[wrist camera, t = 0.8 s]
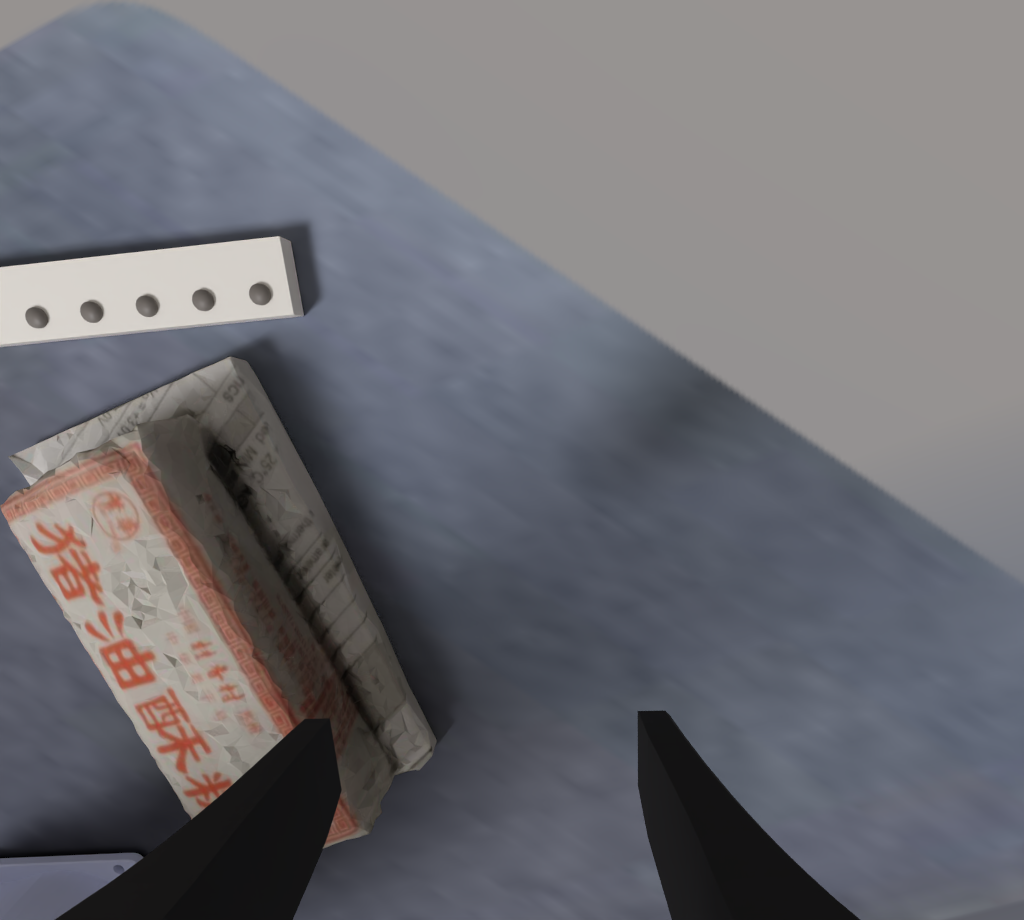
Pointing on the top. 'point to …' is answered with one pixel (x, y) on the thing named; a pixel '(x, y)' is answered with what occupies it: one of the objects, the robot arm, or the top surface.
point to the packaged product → (217, 591)
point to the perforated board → (149, 291)
